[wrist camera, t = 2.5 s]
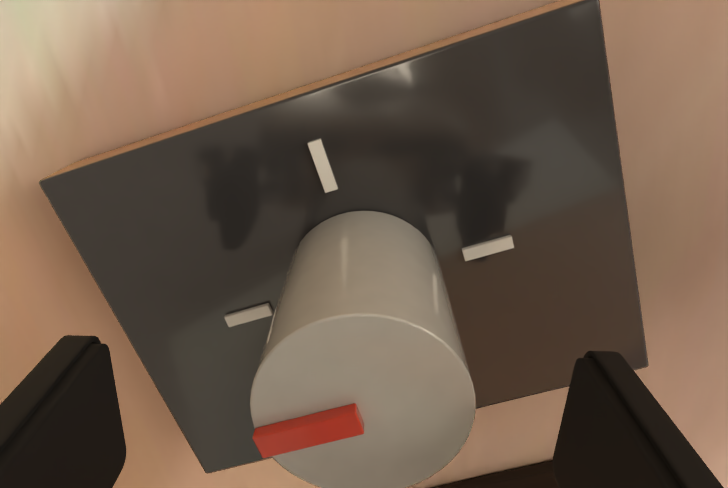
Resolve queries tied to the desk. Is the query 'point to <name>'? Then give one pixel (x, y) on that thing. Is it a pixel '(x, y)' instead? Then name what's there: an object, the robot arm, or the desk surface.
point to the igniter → (513, 478)
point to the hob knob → (363, 360)
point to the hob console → (380, 194)
